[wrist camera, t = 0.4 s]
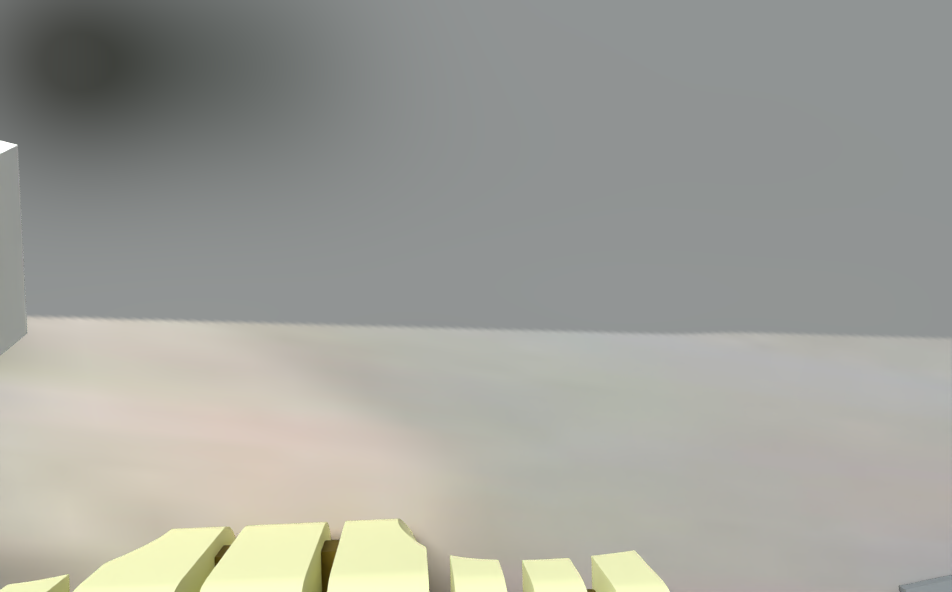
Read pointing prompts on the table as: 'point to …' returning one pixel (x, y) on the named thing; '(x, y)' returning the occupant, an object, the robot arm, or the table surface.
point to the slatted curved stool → (329, 564)
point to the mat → (929, 585)
